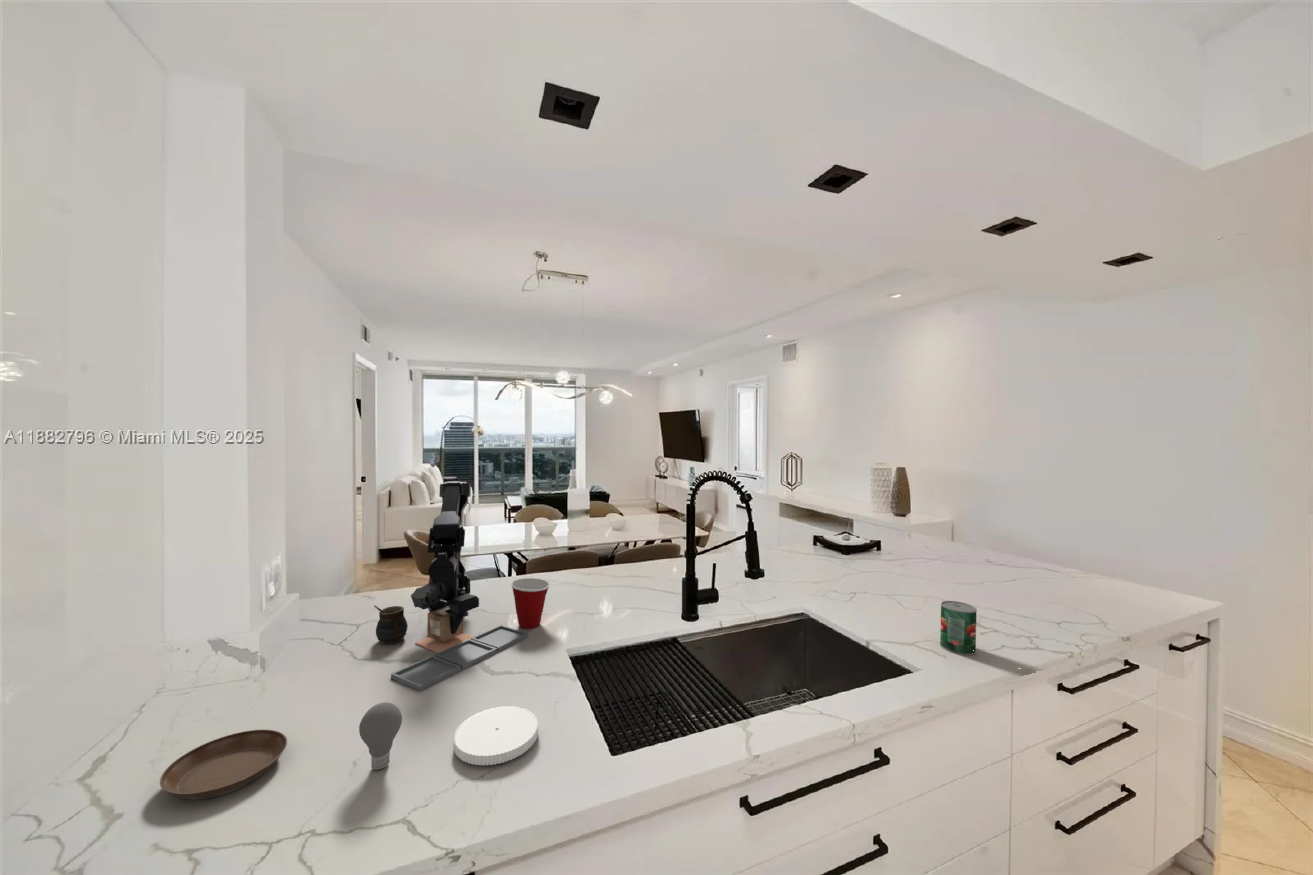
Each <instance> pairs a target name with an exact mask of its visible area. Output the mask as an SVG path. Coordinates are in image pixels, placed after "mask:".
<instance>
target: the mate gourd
mask: <svg viewBox="0 0 1313 875" xmlns="http://www.w3.org/2000/svg"><path fill="white" fill-rule="evenodd" d="M373 606H374V608H376V609H377V610H378V612H379V613H378V614H379V615H378V616H379V619H378V622H377V623H376V626H375V627H376V628H375V635H376V638H377V640H378V641H379V642H380V643H382V644H384V645H390V644H397V643H399V642H400V641H402V640H403V639H404V637H405V636H406V635H407V631H408V625H409V624H408V621H407V619H406V618H405V615H404V613H405V608H404V606H401V605H400V606H399V605H393V606H388V607H386V608H382V609H381V608H380V607H379V606H377V605H373Z"/></svg>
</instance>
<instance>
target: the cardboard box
mask: <svg viewBox="0 0 1313 875" xmlns="http://www.w3.org/2000/svg"><path fill="white" fill-rule="evenodd" d="M449 609H450V608H449V606H446V607H443V608H441V609H438V610H435V611H432V612H429V611H428V613H427V625H426V626H427V633H426V634H427V635H426V636H427V637H430V638H433V639H436V640H439V641H441V642H444V641H446V640H448V639H451V638H453V637H455V636H458V635H460V634H462V633H464V618H463V619H462V621H461V623H460V625H459V627H458V629H457V632H456V633H455V634H451V628H450V615H449V614H448V613H446V612H445V611H446V610H449ZM427 637H426V638H427Z"/></svg>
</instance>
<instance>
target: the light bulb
mask: <svg viewBox="0 0 1313 875" xmlns="http://www.w3.org/2000/svg"><path fill="white" fill-rule="evenodd" d="M402 722H403V715H402V712H401V709H400V708H399V707H398V706H397V705H396V704H394V703H391V702H386V701H385V702H380V703H377V704H375V705H373V706H371V707H370V708H369V709H368V710H367V711H366V712H365V714H364V715H363V716H362V718H361V720H360V722H359V726H358V730H359V732H358V733H359V737H360V738H361V740H362V741H363V743H364V744H365V746H367V748H368V754H369V755H370V756H371V763H370V764H371V765H370V766H371V767H370V768H371V769H372V770H381V769H384V768H385V767H387V766H388V765H389V764H390V762H391V760H390V757H391V755H390V754H391V749H392V748H393V742H394V740H395V738H396V736H397V735H398V733H399V731H400V729H401V725H402Z"/></svg>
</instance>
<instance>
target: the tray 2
mask: <svg viewBox="0 0 1313 875" xmlns="http://www.w3.org/2000/svg"><path fill="white" fill-rule="evenodd" d="M497 652H498V651H497V648H494V647H491V646H488V645H486V644H483V643H480V642H477V641H474V640H471V639H468V640H466V641H464V642H461V643H459V644H457V645H455V646H452V647H450V648H448V649H446V650H443V651H441V652H439V653H438V652H436V653H434V655H433V656H435V657H438V658H440V659H443V660H445V661H448V662H451V663H453V664H456V665H458V666H461V671H463V670H465V669H467V668H468V667H470V666H472V665H475V664H477V663H478V662H481V661H483V660H485V659H487V658H489V657H491V656H493V655H495V654H497Z"/></svg>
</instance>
